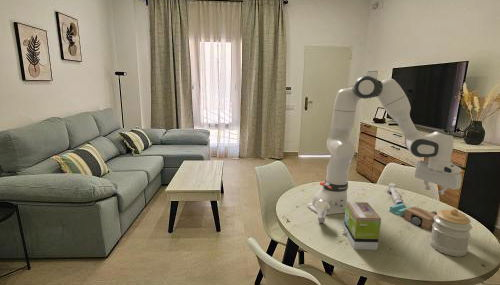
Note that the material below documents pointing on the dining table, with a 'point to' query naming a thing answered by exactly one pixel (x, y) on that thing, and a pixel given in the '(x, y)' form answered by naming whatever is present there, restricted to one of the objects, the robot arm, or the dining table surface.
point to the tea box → (362, 225)
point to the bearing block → (427, 216)
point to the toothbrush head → (394, 194)
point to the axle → (419, 219)
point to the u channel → (398, 209)
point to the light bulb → (322, 209)
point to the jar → (451, 232)
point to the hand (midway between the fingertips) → (434, 191)
